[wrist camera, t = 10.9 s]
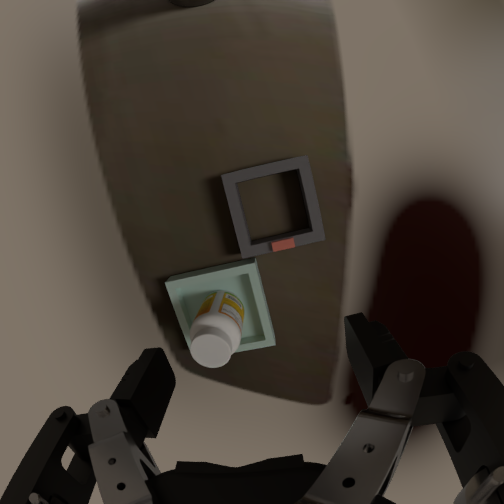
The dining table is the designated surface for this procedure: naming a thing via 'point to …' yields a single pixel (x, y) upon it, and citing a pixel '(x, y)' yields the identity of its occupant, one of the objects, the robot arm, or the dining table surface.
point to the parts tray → (229, 279)
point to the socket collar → (282, 240)
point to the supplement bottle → (217, 329)
